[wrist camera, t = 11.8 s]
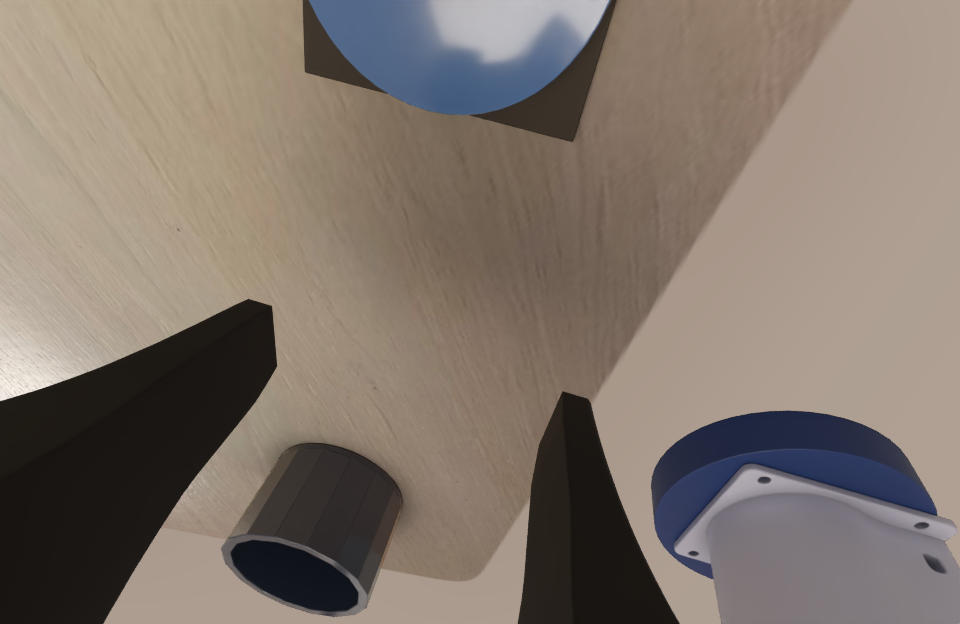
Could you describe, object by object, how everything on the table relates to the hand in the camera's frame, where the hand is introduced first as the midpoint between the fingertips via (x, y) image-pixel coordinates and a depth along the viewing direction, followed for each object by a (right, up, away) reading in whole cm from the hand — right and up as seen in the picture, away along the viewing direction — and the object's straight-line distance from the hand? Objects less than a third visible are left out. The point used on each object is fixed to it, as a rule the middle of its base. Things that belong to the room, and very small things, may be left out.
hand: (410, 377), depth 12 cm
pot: (-8, -11, +23) cm, 26 cm away
